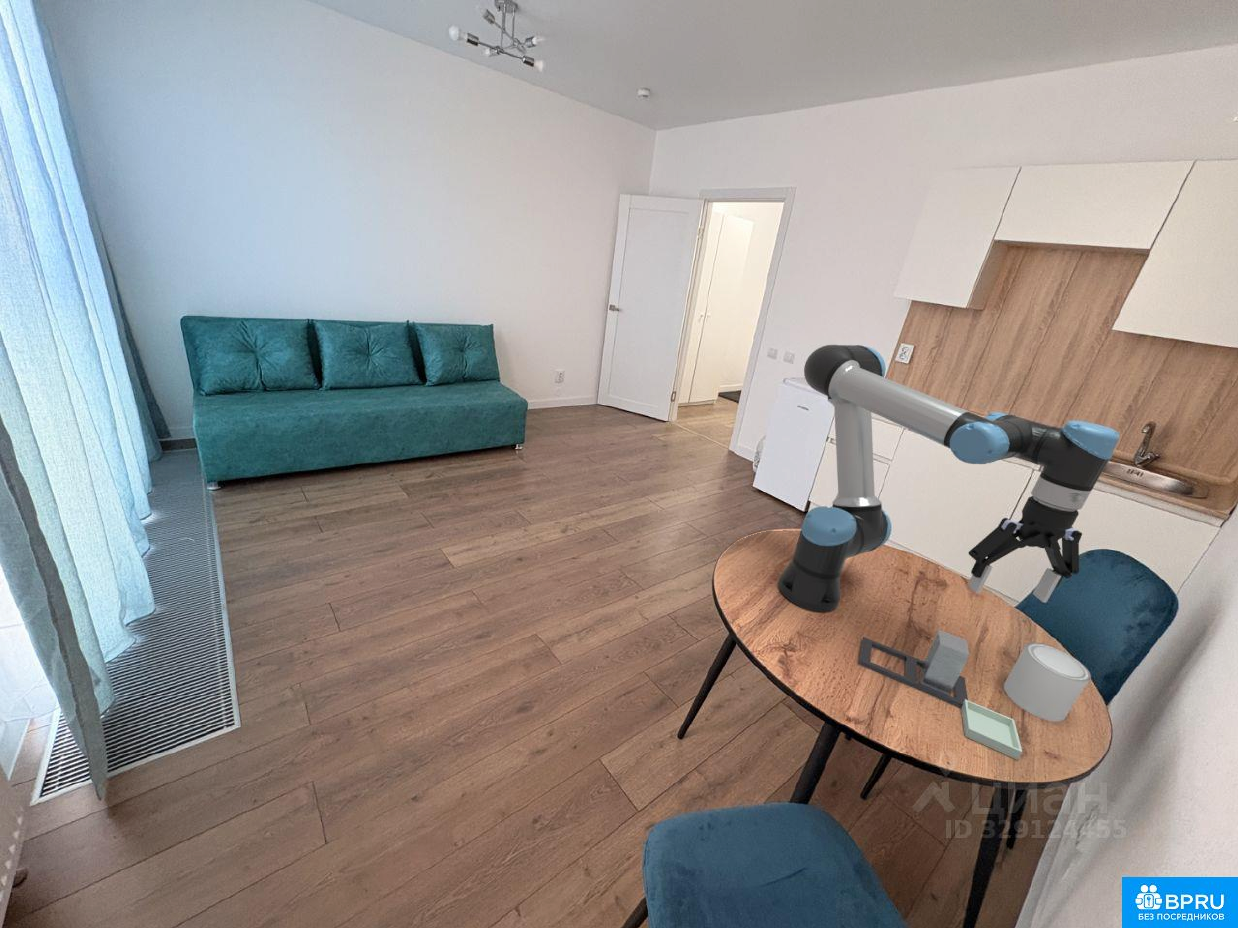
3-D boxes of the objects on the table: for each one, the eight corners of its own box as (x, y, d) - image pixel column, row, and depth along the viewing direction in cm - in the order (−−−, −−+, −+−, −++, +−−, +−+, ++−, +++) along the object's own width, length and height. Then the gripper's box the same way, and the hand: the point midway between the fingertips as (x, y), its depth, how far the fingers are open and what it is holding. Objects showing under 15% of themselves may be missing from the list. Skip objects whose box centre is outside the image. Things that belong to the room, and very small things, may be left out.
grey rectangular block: (920, 684, 98) (940, 643, 94) (920, 669, 102) (938, 629, 98) (948, 696, 96) (969, 655, 92) (947, 680, 100) (966, 640, 96)
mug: (996, 663, 107) (1016, 626, 103) (1052, 683, 103) (1075, 646, 99) (1009, 705, 95) (1032, 666, 91) (1073, 730, 91) (1099, 690, 87)
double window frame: (858, 663, 102) (859, 660, 101) (861, 639, 109) (862, 636, 109) (967, 710, 93) (969, 706, 93) (962, 680, 100) (964, 677, 100)
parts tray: (964, 736, 87) (969, 728, 87) (961, 706, 94) (964, 698, 93) (1017, 759, 84) (1022, 752, 83) (1009, 727, 90) (1014, 719, 90)
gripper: (1001, 503, 86) (956, 597, 94) (1139, 521, 85) (1082, 614, 93) (975, 486, 92) (935, 575, 101) (1103, 502, 92) (1052, 590, 100)
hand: (1006, 594), depth 97 cm, fingers open, 13 cm apart
